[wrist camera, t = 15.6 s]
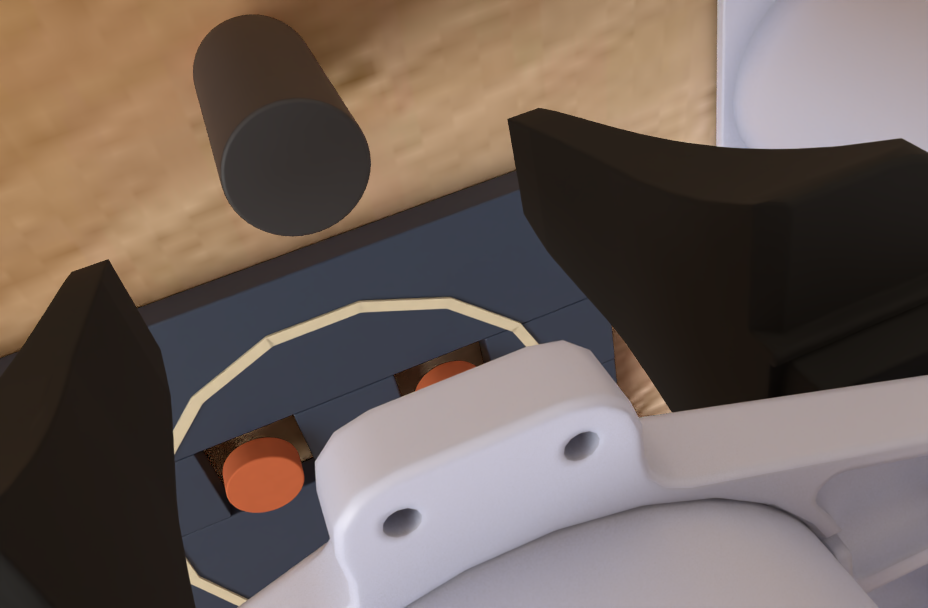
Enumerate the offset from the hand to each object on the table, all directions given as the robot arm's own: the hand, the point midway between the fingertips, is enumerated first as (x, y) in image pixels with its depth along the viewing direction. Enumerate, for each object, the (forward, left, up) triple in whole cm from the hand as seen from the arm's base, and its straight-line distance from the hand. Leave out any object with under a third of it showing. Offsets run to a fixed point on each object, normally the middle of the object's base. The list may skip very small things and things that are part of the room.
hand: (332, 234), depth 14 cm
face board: (+1, +15, -10) cm, 18 cm away
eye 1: (+5, +13, -10) cm, 17 cm away
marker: (0, 0, -10) cm, 10 cm away
